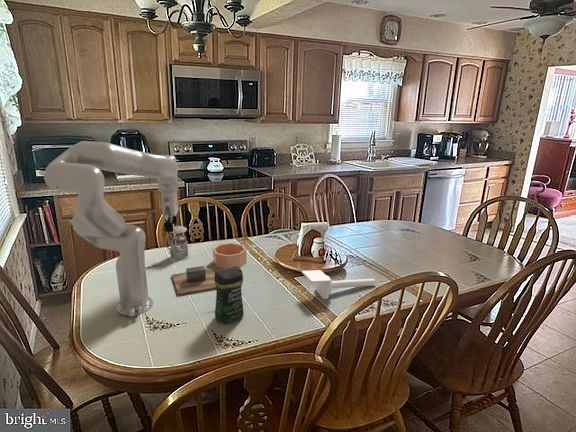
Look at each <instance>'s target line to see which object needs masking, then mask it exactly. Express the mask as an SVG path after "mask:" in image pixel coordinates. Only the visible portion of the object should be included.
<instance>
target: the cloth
mask: <svg viewBox="0 0 576 432" xmlns="http://www.w3.org/2000/svg"><path fill="white" fill-rule="evenodd" d="M213 270H214V268H212V267H211V268H205V266H204V265H201V266H194V267H188V268H186V269H185V271H186V272H181V273H173V274H171V276H172V278H173V281H174V284H175V287H176V290H177V293H178V296H179V297H181V296H180V295H185V296H187V295H186V294H190V295H192V294H191V293H195V294H198V293H197V292H201V293H203V292H202V291H206V292H209V291H208V290H212V291H214V290H213V289H216V285H215V282H214V277H215V272H216V271H213Z"/></svg>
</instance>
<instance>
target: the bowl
mask: <svg viewBox="0 0 576 432" xmlns="http://www.w3.org/2000/svg"><path fill="white" fill-rule="evenodd" d="M212 258H213V259H212V260H213V264H214V266H215V267H216V268H218V269H219V268H220V269H226V268H230V267H235V266H237V267H238V268H242V266H243V265H247V248H246V247H245V246H244V245H243V244H241V243H234V242H229V243H221V244H218V245H216V246H215V247H214V248H212Z"/></svg>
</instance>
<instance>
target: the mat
mask: <svg viewBox="0 0 576 432" xmlns="http://www.w3.org/2000/svg"><path fill="white" fill-rule="evenodd" d="M213 271H214V269H213ZM214 272H215V271H214ZM170 278H171V281H172V286H173V288H174V290H175V291H174V292H175V293H176V297H177V298H179V297H184V296H189V295H195V294H199V293H206V292H212V291H216V289H213V290H208V291H202V292H197V293H191V294H186V295H180V296H178V293H177V290H176V287H175V284H174V281H173V278H172V275H171V276H170Z"/></svg>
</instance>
